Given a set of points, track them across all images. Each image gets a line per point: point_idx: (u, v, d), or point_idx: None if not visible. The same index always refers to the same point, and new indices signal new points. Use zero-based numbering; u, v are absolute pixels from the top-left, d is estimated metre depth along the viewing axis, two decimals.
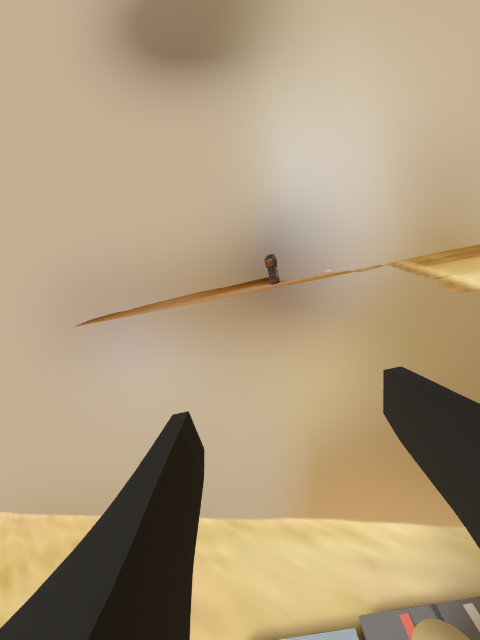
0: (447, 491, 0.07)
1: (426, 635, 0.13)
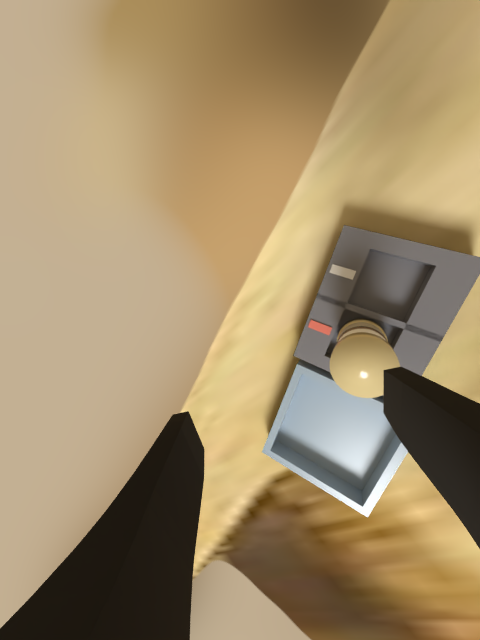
0: (447, 491, 0.07)
1: (338, 366, 0.13)
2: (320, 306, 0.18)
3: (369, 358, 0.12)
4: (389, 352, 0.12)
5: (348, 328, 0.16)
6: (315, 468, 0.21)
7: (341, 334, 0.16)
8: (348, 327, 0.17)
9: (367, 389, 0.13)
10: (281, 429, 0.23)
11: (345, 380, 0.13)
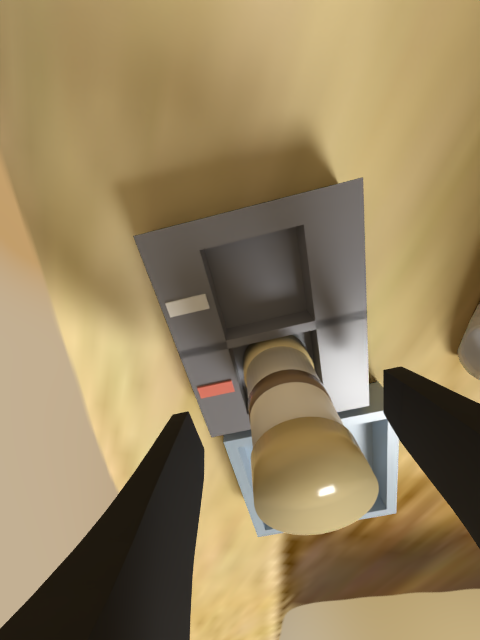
0: (447, 491, 0.07)
1: (278, 517, 0.07)
2: (196, 365, 0.11)
3: (317, 484, 0.06)
4: (340, 462, 0.06)
5: (251, 382, 0.10)
6: None
7: (248, 402, 0.09)
8: (250, 377, 0.10)
9: (342, 516, 0.07)
10: None
11: (302, 524, 0.07)
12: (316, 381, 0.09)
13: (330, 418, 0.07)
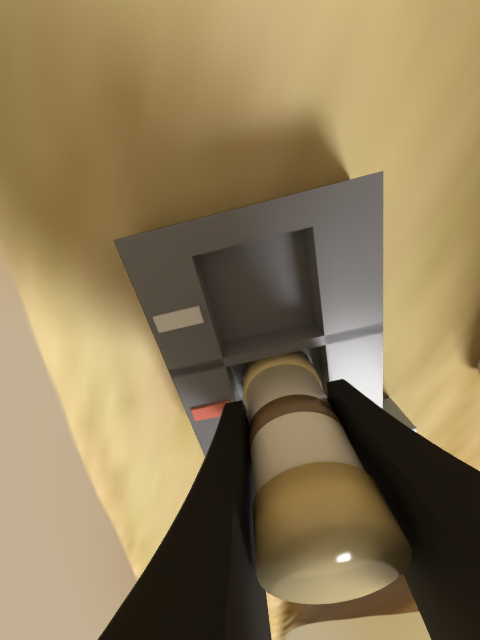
0: None
1: (286, 586, 0.05)
2: (189, 385, 0.10)
3: (336, 553, 0.05)
4: (366, 529, 0.05)
5: (252, 407, 0.09)
6: None
7: (248, 431, 0.08)
8: (251, 401, 0.09)
9: (364, 584, 0.05)
10: None
11: (315, 594, 0.06)
12: (327, 409, 0.08)
13: (348, 461, 0.06)
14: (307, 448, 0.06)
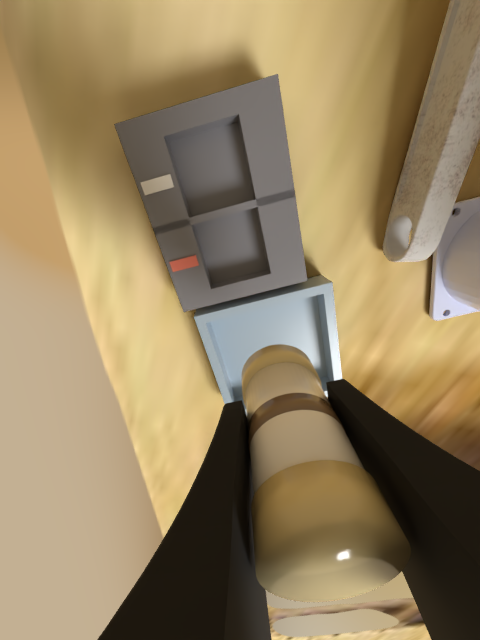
0: None
1: (286, 585, 0.05)
2: (167, 240, 0.14)
3: (334, 551, 0.05)
4: (365, 527, 0.05)
5: (251, 406, 0.09)
6: None
7: (247, 430, 0.08)
8: (250, 399, 0.09)
9: (363, 582, 0.05)
10: (232, 384, 0.20)
11: (315, 592, 0.06)
12: (327, 407, 0.08)
13: (347, 459, 0.06)
14: (306, 446, 0.06)
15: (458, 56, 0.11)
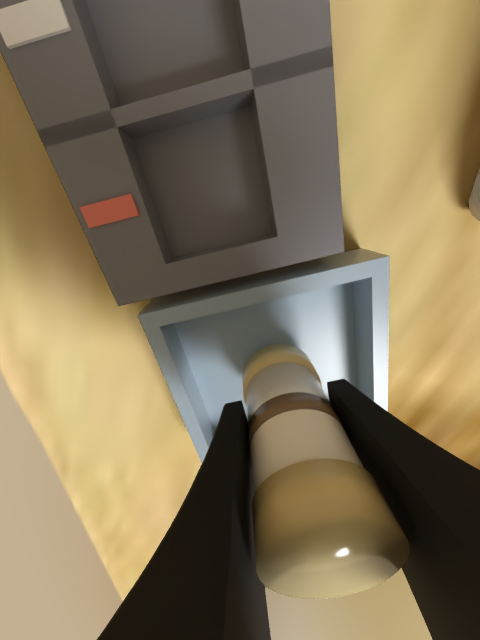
0: None
1: (286, 581, 0.05)
2: (71, 161, 0.07)
3: (333, 548, 0.05)
4: (364, 524, 0.05)
5: (251, 405, 0.09)
6: None
7: (248, 429, 0.08)
8: (250, 399, 0.09)
9: (363, 579, 0.06)
10: (213, 420, 0.13)
11: (315, 589, 0.06)
12: (326, 406, 0.08)
13: (347, 458, 0.06)
14: (306, 445, 0.06)
15: None
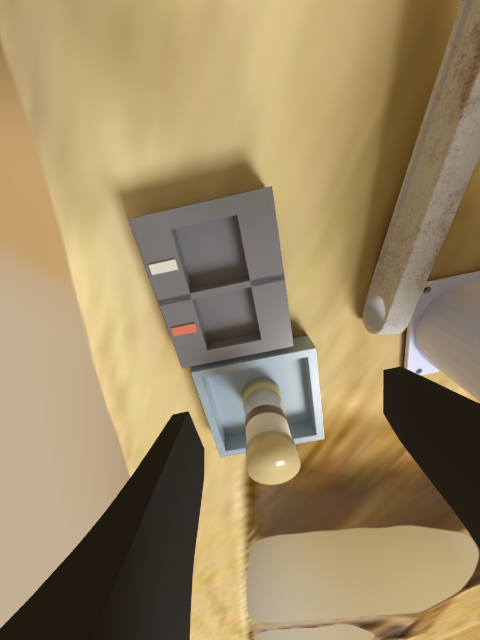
0: (447, 491, 0.07)
1: (257, 475, 0.15)
2: (170, 310, 0.16)
3: (273, 460, 0.15)
4: (282, 450, 0.14)
5: (246, 410, 0.18)
6: None
7: (245, 421, 0.18)
8: (246, 407, 0.19)
9: (285, 475, 0.15)
10: (223, 425, 0.22)
11: (268, 479, 0.15)
12: (280, 411, 0.17)
13: (282, 431, 0.16)
14: (267, 426, 0.16)
15: (423, 183, 0.13)
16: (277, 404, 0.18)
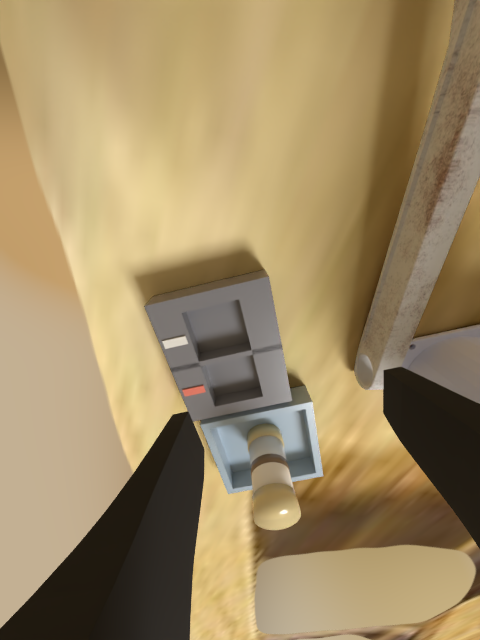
0: (447, 491, 0.07)
1: (263, 523, 0.17)
2: (181, 376, 0.18)
3: (277, 511, 0.17)
4: (284, 503, 0.16)
5: (251, 457, 0.20)
6: None
7: (250, 467, 0.20)
8: (251, 453, 0.20)
9: (288, 522, 0.17)
10: (230, 463, 0.24)
11: (273, 525, 0.17)
12: (281, 459, 0.19)
13: (284, 482, 0.18)
14: (270, 478, 0.18)
15: (399, 271, 0.15)
16: (279, 451, 0.20)
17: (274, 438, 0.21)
